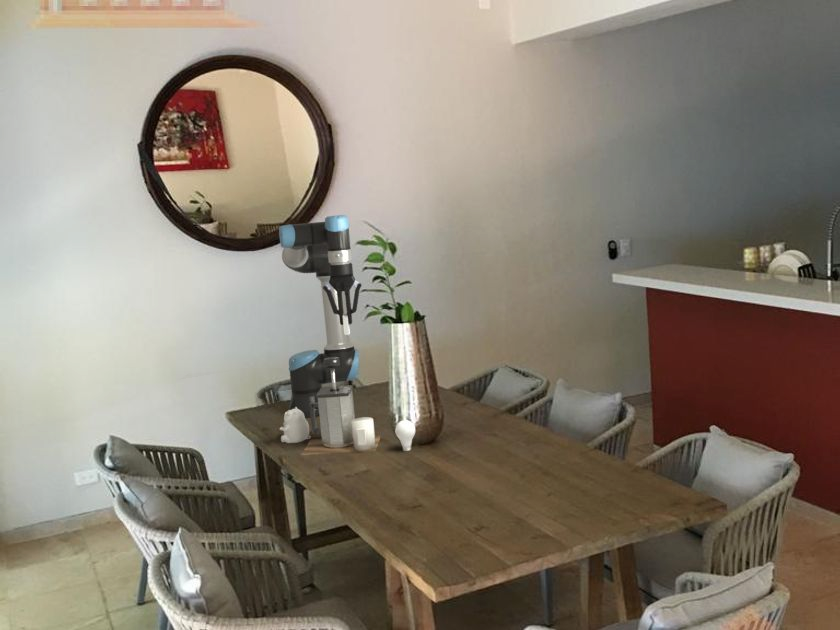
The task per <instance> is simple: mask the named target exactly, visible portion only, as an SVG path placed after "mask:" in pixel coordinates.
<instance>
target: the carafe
mask: <svg viewBox="0 0 840 630" xmlns="http://www.w3.org/2000/svg"><path fill="white" fill-rule="evenodd" d="M353 387H354V386H353V385H351V384H349V385H336V390H337V391H333V388H332V386H322V387H321V389H320V390H319V392H318V393H317V395H316V398H318V403H310V404H309V406H310V415H311V417H310V423H311V432H312V434H313V435H315V434H317V435H318V434H321V439H322V443H323V446H324V447H326V448H344V447H349V446H352V445H354V444H353V433H352V423H351V421H352V420H353V419H356V417H355V415H356V414H355V408H354V407H355V404H354V396H353V395H354V394H353V389H354V388H353ZM316 407H319V415H318V416H319V424H320V426H319V427H320V428H317V420H316V419H317V418H316V416H315V409H314V408H316Z"/></svg>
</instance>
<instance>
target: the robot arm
mask: <svg viewBox="0 0 840 630" xmlns="http://www.w3.org/2000/svg"><path fill="white" fill-rule="evenodd" d="M348 220H349V219H348V216H347V215H345V214H339V215H329V216H326V217H325V218H324V221H319V222H318V221H317V222H308V223H296V224H289V223H288V224H285V225H281V226H279V227H278V228H279V229H278V234H279V236H278V237H279V244H280V247H281V248H283V249H282V251H281V252H282V253H281V258H282V259H281V260H282V262H283V264H284V265H285V267H287V268H288V269H290V270H292V271H294V272H296V273H300V274H314V273H315V277H316V278H317V279H318V281H320V284H321V285H320V286H321V295H322V296H321V297H322V305H323V315H324V325H325V335H326V345H325V346H324V348H323V352H322V353H320V352H319V350H318V349H309V350H304V351H300V352H298V353H295V354H292V355H291V356H290V357H289V358H288V371H289V377H290V379H289V380H290V387H291V388H290V389H291V397H290V402H289V405H288V406H289V408H288V410H292V409H296V408H295V407H297V409H299V410H301V411H302V412H303V413H304V416H305V418H311V415H310V406H309V404H310V403H318V398H316V395H317V393H318V392H319V390H320V389H321V387H323V385H325V384H332V378H331V368H326V367H324V359H325V358H329V357H339V361H340V366H338V367H334V370H335V380H336V383H341V382H350V381H354V380H356V379H358V376H359V372H360V353H359V352H360V351H359V350H358V349H357V348H355V344H353V343H352V342H351V341H350V334H351V329H350V325H352V324H353V317H352V316H353V314H354V313H356V312H357V310H358V304H359V299H360V298H359V296H360V290H361V288H362V286H363V283H362V282H359V281H357V280H356V278H355V276H354V272H353V271H354V270H353V264H352V261H353V260H352V259H353V258H352V249H351V242H350V241H351V240H350V224H349V221H348ZM353 285H354V286H353ZM352 287H354V288H355V289H354V296H353V303H351V292H350V291H351V289H352ZM314 409H315V417H317V416H319V407H316V408H314Z"/></svg>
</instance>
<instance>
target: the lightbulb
mask: <svg viewBox="0 0 840 630" xmlns="http://www.w3.org/2000/svg"><path fill="white" fill-rule="evenodd" d="M394 431H395V435H396V437H397V438H398V439H399V441H400V444H401V446H402V451H403V452H409V451H411V450H412V443H413V438H414V437H415V434H416V426H415V425H414V423H413V422H412V421H410V420H409V419H408V420H407V419H403V420H400V421H399V422H398V423H397V424H396V425H395V429H394Z"/></svg>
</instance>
